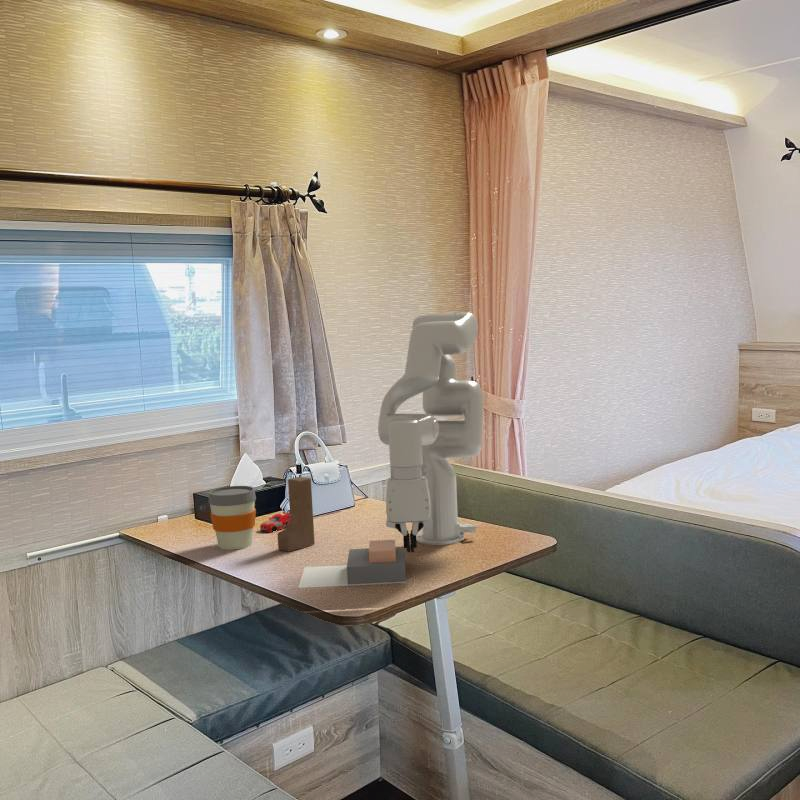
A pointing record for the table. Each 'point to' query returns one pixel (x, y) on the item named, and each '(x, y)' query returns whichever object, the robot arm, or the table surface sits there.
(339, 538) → the table surface
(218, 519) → the reusable coffee cup
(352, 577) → the grey flat block
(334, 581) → the mat
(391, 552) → the tile
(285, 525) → the race car
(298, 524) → the wooden block
